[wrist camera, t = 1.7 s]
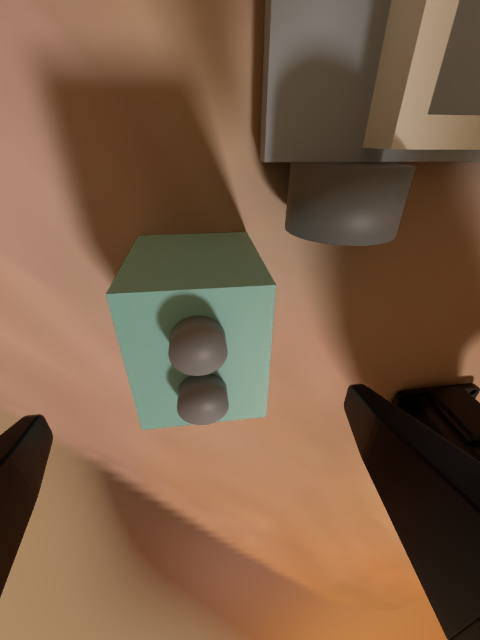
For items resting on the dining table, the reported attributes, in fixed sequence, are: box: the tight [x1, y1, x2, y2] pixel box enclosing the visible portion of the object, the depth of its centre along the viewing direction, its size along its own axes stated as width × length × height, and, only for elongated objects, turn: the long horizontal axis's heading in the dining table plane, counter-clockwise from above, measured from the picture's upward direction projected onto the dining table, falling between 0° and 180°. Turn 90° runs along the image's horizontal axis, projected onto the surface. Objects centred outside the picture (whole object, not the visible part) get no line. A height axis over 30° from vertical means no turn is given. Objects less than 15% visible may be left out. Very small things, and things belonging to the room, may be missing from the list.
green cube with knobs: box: [106, 232, 276, 430], centre depth 12 cm, size 6×5×7 cm
